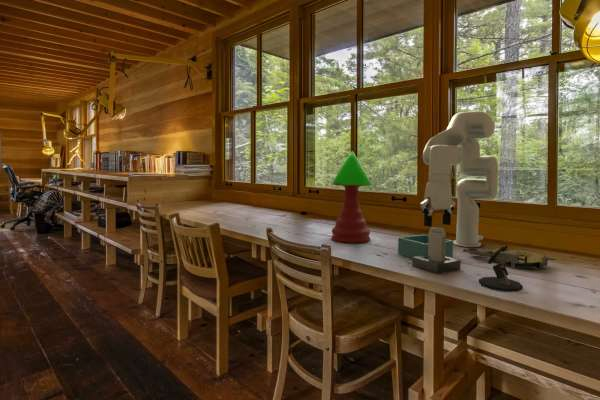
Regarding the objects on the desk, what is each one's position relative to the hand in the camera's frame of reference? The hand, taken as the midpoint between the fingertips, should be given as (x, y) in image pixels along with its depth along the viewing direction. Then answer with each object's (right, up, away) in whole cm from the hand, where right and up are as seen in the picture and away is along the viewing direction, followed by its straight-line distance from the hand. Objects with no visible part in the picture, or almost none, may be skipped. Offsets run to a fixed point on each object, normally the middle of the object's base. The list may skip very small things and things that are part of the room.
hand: (437, 225), depth 143 cm
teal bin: (+2, -14, +21) cm, 26 cm away
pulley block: (+31, -16, +10) cm, 36 cm away
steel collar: (0, -16, +2) cm, 16 cm away
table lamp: (-25, -11, +54) cm, 61 cm away
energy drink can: (0, -16, +2) cm, 16 cm away
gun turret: (+12, -18, -16) cm, 27 cm away
